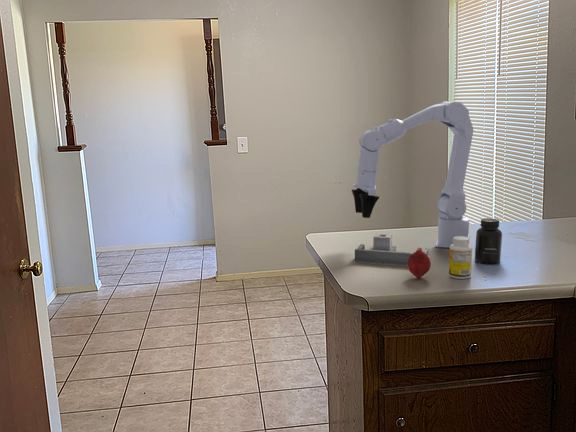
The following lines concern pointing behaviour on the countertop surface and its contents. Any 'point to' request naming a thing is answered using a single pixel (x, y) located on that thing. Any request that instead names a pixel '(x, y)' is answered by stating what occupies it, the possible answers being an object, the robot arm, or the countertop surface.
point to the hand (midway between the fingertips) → (362, 215)
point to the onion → (419, 263)
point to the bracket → (383, 256)
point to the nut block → (382, 241)
